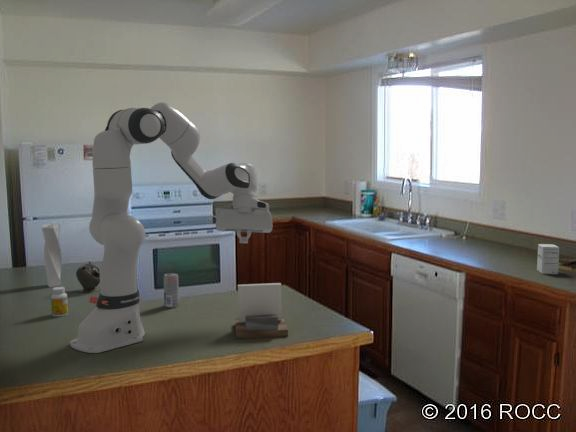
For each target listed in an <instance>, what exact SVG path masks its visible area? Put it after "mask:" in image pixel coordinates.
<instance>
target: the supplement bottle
mask: <svg viewBox="0 0 576 432" xmlns="http://www.w3.org/2000/svg"><path fill="white" fill-rule="evenodd" d="M65 291H66V288H65V286H56V287H52V294H51V296H50V301H51V303H50V306H51V315H52V317H65V316H67V315H68V314H69V305H68V304H69V303H68V293H66V292H65Z"/></svg>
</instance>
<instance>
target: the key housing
mask: <svg viewBox="0 0 576 432" xmlns="http://www.w3.org/2000/svg"><path fill="white" fill-rule="evenodd" d="M234 322H235V324H234V325H235V326H234V327H235V334H236V335H235V337H236V339H238V340H239V339H255V338H256V339H257V338H276V337H279V338H280V337H289V329H288V327H287V324H286V320H285V318H284V316H283V315H282V320H279V321H278V316H277V314H267V315H245V322H239V320H238V318H234Z"/></svg>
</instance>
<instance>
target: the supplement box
mask: <svg viewBox="0 0 576 432" xmlns="http://www.w3.org/2000/svg"><path fill="white" fill-rule="evenodd" d="M536 258H537V262H536V263H537V264H536V271H538V272H539V273H540V274H542V275H559V262H560V260H559V259H560V247H559V246H557V245H556V244H553V243H551V244H550V243H538V244H537V257H536Z"/></svg>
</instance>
